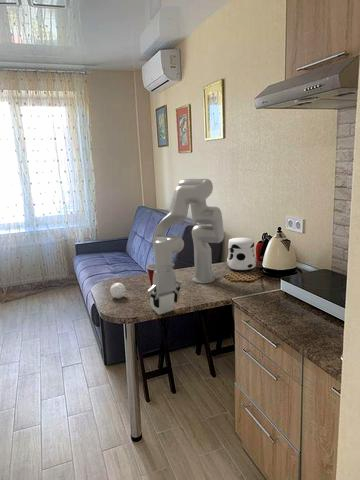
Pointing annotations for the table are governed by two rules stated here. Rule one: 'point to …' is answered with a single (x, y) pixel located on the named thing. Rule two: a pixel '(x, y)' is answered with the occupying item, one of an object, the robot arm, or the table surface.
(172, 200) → the robot arm
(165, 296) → the white angular block
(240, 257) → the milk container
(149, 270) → the plastic cup
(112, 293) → the geometric ball
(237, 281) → the table surface
